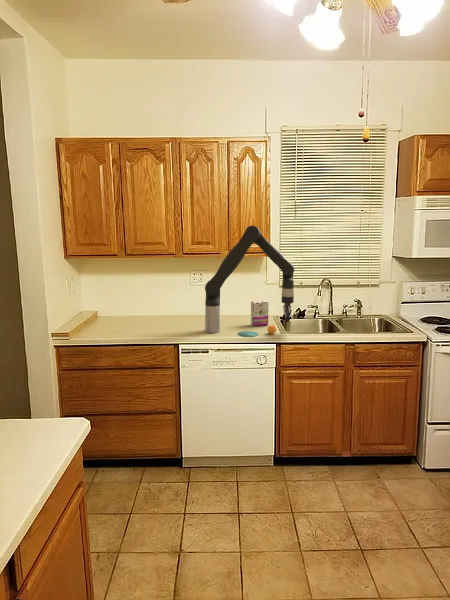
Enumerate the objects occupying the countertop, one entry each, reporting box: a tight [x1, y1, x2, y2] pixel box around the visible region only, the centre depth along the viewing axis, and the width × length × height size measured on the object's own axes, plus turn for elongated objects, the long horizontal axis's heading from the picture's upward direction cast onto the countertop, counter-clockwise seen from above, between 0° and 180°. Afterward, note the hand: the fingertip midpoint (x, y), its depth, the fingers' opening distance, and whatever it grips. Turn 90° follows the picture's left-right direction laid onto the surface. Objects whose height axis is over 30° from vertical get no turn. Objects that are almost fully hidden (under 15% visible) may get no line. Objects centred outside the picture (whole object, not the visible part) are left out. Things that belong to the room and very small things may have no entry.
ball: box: [266, 324, 277, 335], centre depth 284 cm, size 6×6×6 cm
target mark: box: [237, 330, 260, 338], centre depth 283 cm, size 13×13×1 cm
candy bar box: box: [250, 300, 269, 327], centre depth 304 cm, size 11×5×16 cm, turn 105°
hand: (287, 322), depth 284 cm, fingers closed
